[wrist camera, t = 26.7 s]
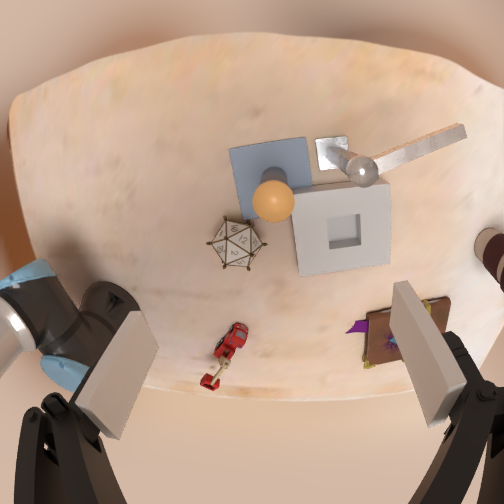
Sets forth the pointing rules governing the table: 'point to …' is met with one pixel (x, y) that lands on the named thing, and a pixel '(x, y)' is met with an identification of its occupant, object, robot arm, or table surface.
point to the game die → (236, 243)
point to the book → (382, 339)
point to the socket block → (342, 227)
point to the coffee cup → (491, 253)
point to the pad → (262, 157)
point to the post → (333, 153)
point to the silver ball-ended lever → (401, 155)
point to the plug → (273, 196)
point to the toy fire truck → (225, 354)
